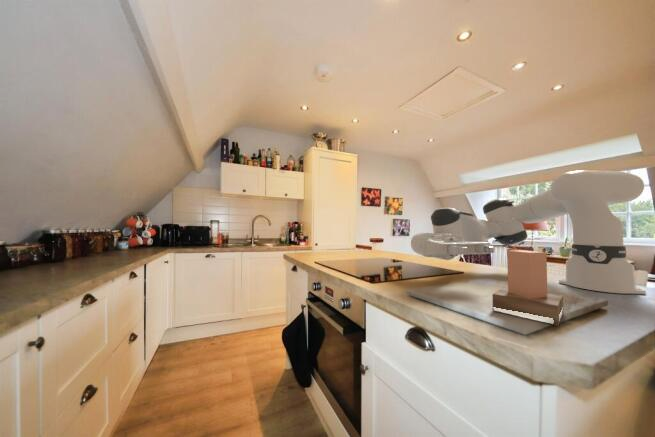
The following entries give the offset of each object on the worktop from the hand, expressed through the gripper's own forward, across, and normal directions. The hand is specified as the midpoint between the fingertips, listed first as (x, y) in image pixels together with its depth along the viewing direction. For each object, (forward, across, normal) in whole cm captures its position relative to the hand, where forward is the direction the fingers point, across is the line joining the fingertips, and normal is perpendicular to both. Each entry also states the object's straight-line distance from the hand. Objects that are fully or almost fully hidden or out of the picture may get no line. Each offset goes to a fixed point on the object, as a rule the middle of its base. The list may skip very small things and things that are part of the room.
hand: (479, 250), depth 68 cm
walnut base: (+13, 0, -13) cm, 18 cm away
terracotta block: (+13, 0, -9) cm, 16 cm away
